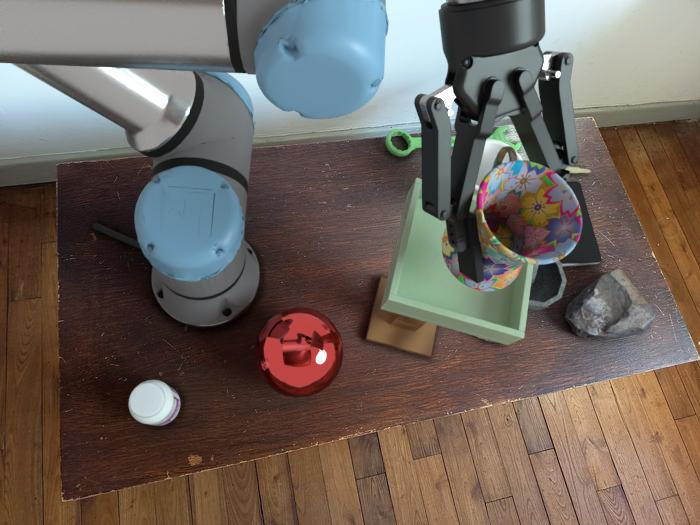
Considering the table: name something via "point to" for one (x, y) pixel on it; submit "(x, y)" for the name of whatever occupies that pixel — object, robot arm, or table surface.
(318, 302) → the table surface
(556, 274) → the mortar and pestle
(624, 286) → the rock
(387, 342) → the stand
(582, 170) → the bullet
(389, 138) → the wrench
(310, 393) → the ball
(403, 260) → the tray
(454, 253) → the mug
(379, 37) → the robot arm
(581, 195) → the smartphone
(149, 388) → the pill bottle
